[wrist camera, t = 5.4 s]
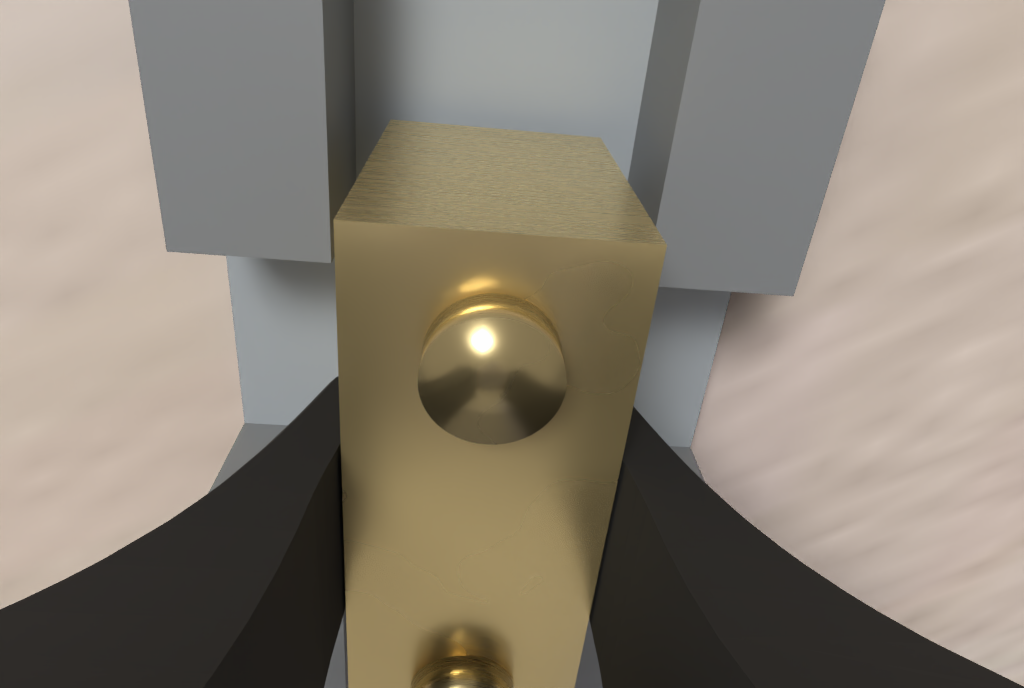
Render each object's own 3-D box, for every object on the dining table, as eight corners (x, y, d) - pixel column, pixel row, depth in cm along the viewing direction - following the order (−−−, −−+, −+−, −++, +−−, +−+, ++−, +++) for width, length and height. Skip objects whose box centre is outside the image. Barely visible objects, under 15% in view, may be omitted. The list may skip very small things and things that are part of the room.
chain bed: (842, -231, 11) (979, -302, 8) (627, 632, 21) (651, 750, 18) (187, -315, 10) (63, -428, 7) (279, 620, 20) (241, 740, 17)
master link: (599, 137, 12) (680, 267, 7) (541, 534, 16) (565, 786, 11) (390, 119, 12) (322, 241, 7) (387, 527, 16) (344, 782, 11)
